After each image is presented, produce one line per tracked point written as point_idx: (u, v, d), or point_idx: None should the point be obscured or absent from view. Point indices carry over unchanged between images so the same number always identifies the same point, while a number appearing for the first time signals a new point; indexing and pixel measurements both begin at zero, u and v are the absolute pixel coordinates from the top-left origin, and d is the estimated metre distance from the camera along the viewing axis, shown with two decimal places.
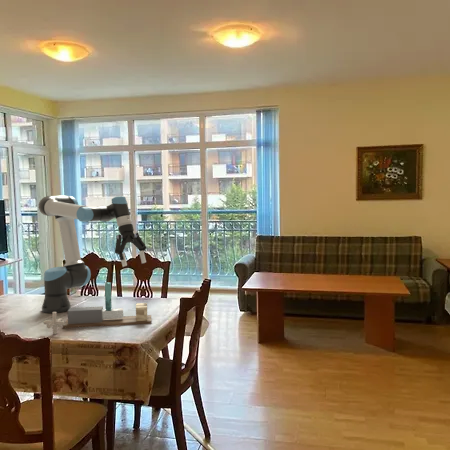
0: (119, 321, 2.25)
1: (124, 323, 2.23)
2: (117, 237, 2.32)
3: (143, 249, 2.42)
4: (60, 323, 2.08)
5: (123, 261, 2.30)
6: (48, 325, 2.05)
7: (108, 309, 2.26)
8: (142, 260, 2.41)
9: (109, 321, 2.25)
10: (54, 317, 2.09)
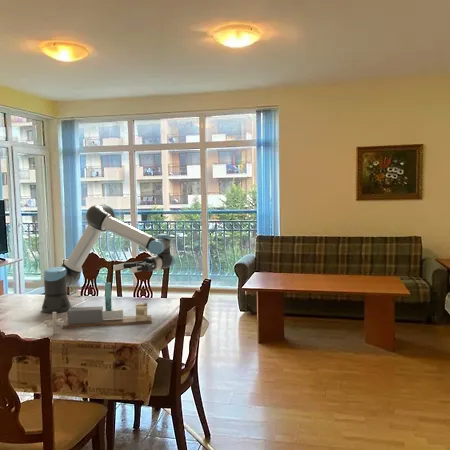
0: (119, 321, 2.25)
1: (124, 323, 2.23)
2: (153, 265, 2.42)
3: None
4: (60, 323, 2.08)
5: (135, 269, 2.32)
6: (48, 325, 2.05)
7: (108, 309, 2.26)
8: (116, 267, 2.39)
9: (109, 321, 2.25)
10: (54, 317, 2.09)
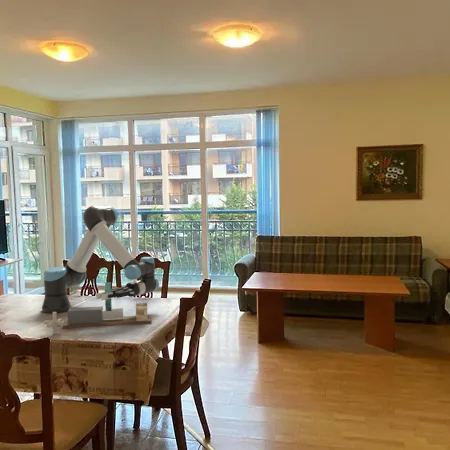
0: (119, 321, 2.25)
1: (124, 323, 2.23)
2: (131, 292, 2.31)
3: None
4: (60, 323, 2.08)
5: (106, 296, 2.23)
6: (48, 325, 2.05)
7: (108, 309, 2.26)
8: (99, 295, 2.24)
9: (109, 321, 2.25)
10: (54, 317, 2.09)
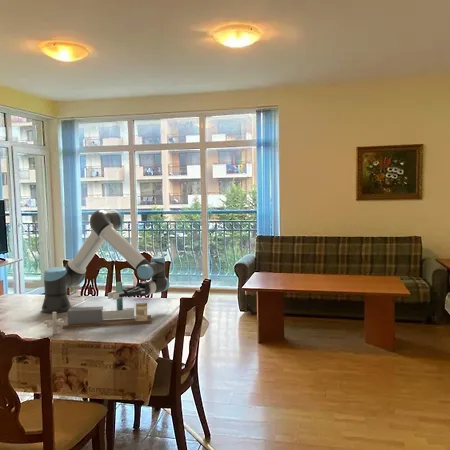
0: (119, 321, 2.25)
1: (124, 323, 2.23)
2: (142, 291, 2.32)
3: None
4: (60, 323, 2.08)
5: (117, 296, 2.24)
6: (48, 325, 2.05)
7: (119, 308, 2.27)
8: (111, 294, 2.25)
9: (109, 321, 2.25)
10: (54, 317, 2.09)
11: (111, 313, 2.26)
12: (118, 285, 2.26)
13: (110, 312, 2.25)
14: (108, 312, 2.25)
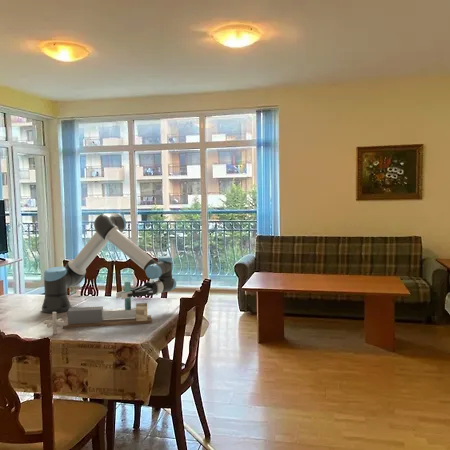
0: (119, 321, 2.25)
1: (124, 323, 2.23)
2: (150, 291, 2.33)
3: None
4: (60, 323, 2.08)
5: (126, 295, 2.24)
6: (48, 325, 2.05)
7: (128, 308, 2.27)
8: (119, 294, 2.26)
9: (109, 321, 2.25)
10: (54, 317, 2.09)
11: (119, 313, 2.26)
12: (126, 285, 2.27)
13: (118, 311, 2.26)
14: (116, 312, 2.26)
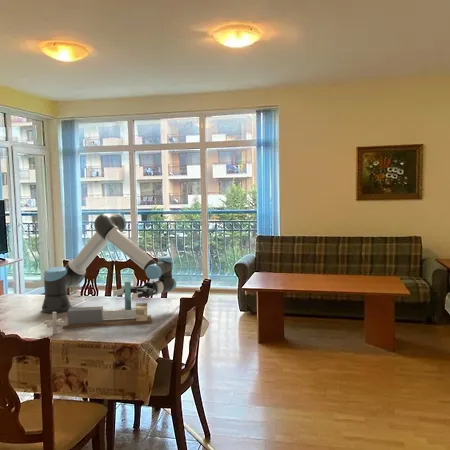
0: (119, 321, 2.25)
1: (124, 323, 2.23)
2: (154, 290, 2.34)
3: None
4: (60, 323, 2.08)
5: (136, 296, 2.23)
6: (48, 325, 2.05)
7: (128, 308, 2.27)
8: (116, 292, 2.31)
9: (109, 321, 2.25)
10: (54, 317, 2.09)
11: (119, 313, 2.26)
12: (126, 285, 2.27)
13: (118, 311, 2.26)
14: (117, 312, 2.26)
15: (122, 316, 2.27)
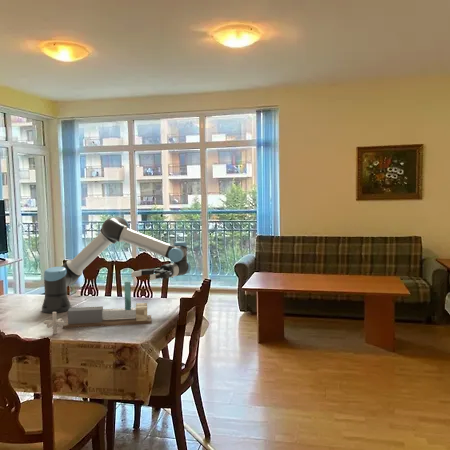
0: (119, 321, 2.25)
1: (124, 323, 2.23)
2: (170, 273, 2.45)
3: (140, 275, 2.47)
4: (60, 323, 2.08)
5: (154, 277, 2.35)
6: (48, 325, 2.05)
7: (128, 308, 2.27)
8: (134, 273, 2.42)
9: (109, 321, 2.25)
10: (54, 317, 2.09)
11: (119, 313, 2.26)
12: (126, 285, 2.27)
13: (118, 311, 2.26)
14: (117, 312, 2.26)
15: (122, 316, 2.27)
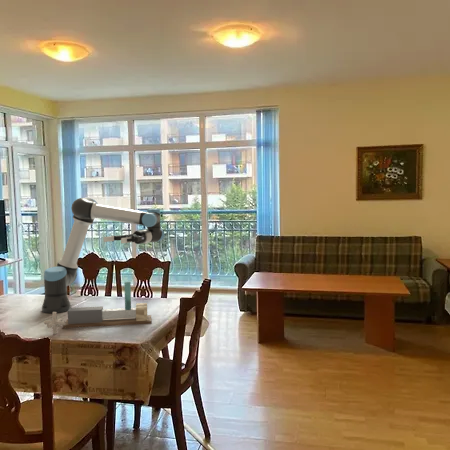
0: (119, 321, 2.25)
1: (124, 323, 2.23)
2: (142, 237, 2.48)
3: (113, 240, 2.50)
4: (60, 323, 2.08)
5: (125, 240, 2.38)
6: (48, 325, 2.05)
7: (128, 308, 2.27)
8: (106, 238, 2.45)
9: (109, 321, 2.25)
10: (54, 317, 2.09)
11: (119, 313, 2.26)
12: (126, 285, 2.27)
13: (118, 311, 2.26)
14: (117, 312, 2.26)
15: (122, 316, 2.27)
